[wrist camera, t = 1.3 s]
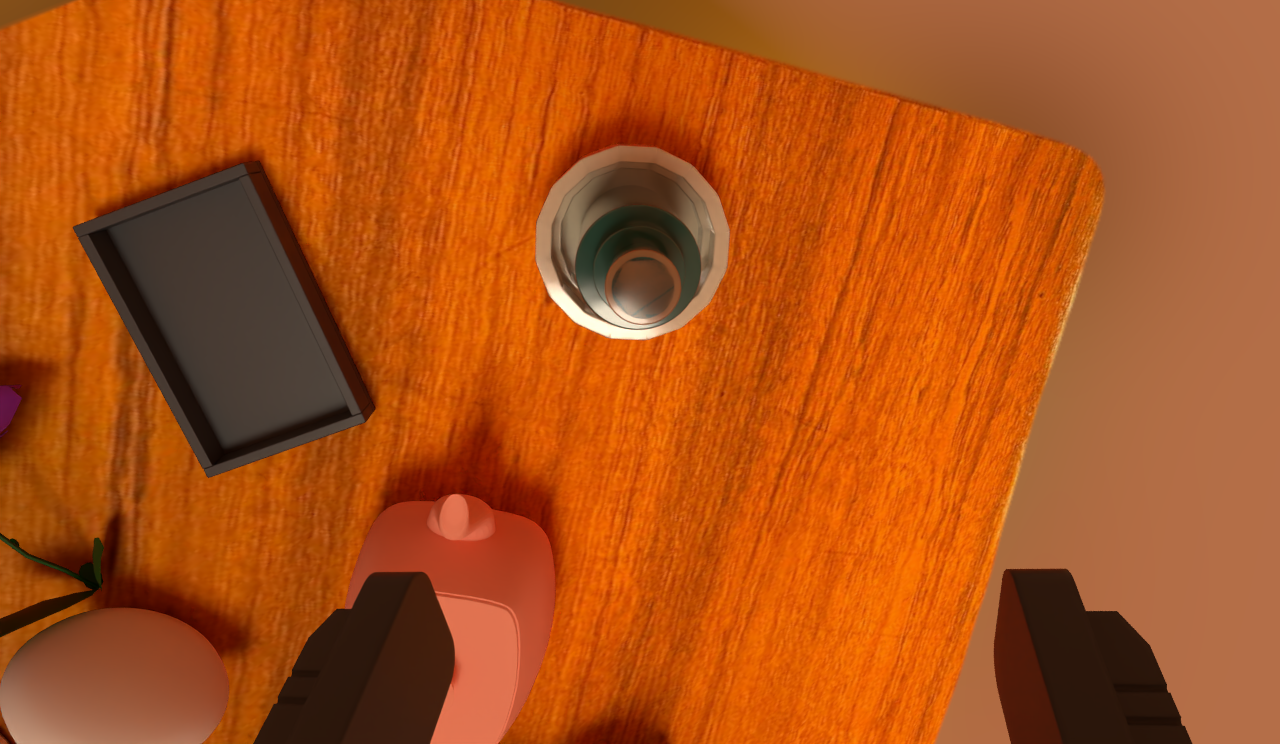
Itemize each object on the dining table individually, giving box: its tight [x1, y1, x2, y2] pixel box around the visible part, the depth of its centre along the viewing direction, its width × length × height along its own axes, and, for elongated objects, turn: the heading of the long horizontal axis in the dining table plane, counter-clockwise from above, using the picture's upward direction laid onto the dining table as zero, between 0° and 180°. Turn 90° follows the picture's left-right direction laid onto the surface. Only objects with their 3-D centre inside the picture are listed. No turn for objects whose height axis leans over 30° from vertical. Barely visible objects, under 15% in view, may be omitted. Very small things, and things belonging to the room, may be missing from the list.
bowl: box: [535, 143, 730, 340], centre depth 48 cm, size 10×10×4 cm
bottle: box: [575, 185, 701, 330], centre depth 42 cm, size 6×6×16 cm
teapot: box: [345, 494, 556, 744], centre depth 49 cm, size 20×12×12 cm, turn 170°
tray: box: [73, 161, 375, 478], centre depth 49 cm, size 15×10×2 cm, turn 19°
